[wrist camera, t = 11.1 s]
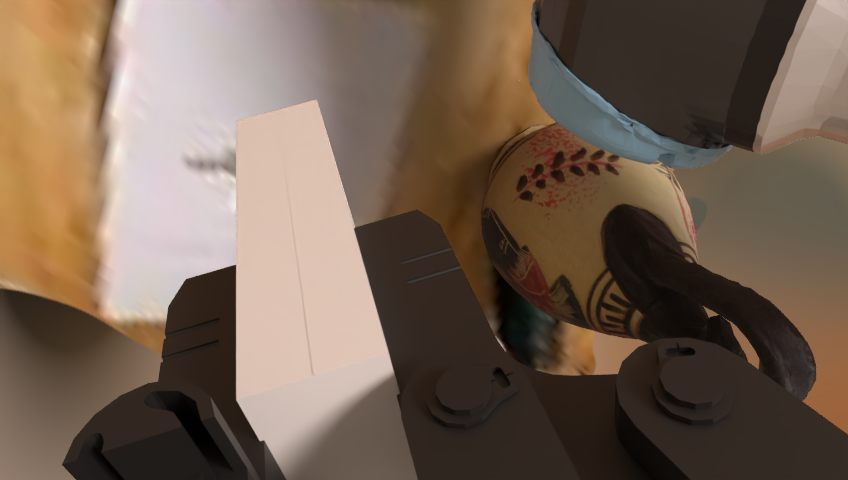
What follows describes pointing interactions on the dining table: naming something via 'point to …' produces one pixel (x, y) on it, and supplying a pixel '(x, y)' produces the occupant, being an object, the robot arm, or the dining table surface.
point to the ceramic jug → (621, 253)
